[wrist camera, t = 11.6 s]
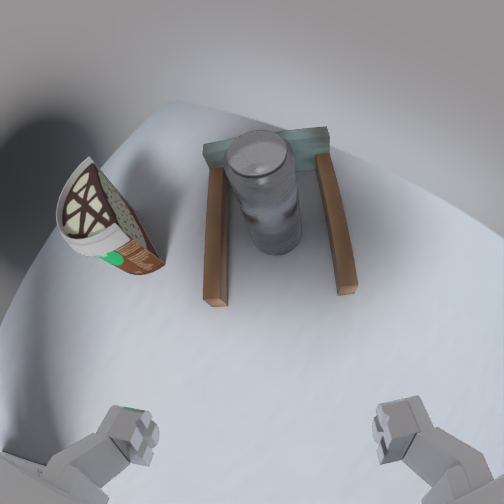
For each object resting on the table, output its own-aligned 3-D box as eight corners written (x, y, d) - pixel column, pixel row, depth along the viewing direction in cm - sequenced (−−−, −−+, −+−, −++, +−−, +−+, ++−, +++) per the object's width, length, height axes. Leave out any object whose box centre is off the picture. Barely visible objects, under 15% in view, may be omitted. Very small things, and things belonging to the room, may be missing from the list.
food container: (96, 233, 34) (47, 190, 25) (131, 203, 34) (88, 153, 26) (127, 308, 28) (62, 274, 19) (171, 275, 29) (116, 227, 20)
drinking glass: (253, 257, 28) (219, 182, 18) (252, 215, 30) (221, 132, 20) (303, 252, 27) (296, 172, 17) (298, 209, 29) (288, 122, 19)
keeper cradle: (212, 306, 27) (192, 290, 22) (216, 173, 33) (203, 144, 29) (353, 293, 25) (363, 273, 20) (326, 158, 31) (326, 126, 27)
